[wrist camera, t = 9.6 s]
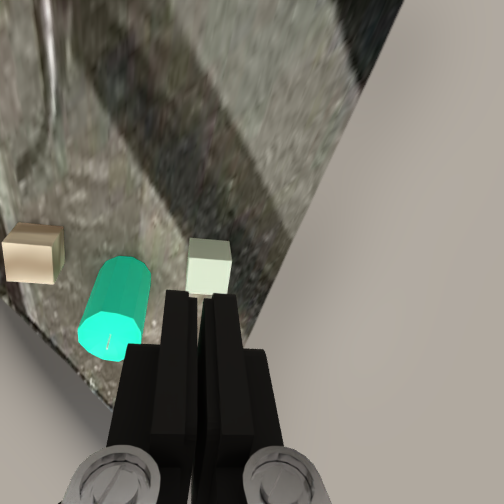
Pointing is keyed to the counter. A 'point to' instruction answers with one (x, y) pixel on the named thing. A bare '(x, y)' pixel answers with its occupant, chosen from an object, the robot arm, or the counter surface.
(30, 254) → the birch block
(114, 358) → the candle
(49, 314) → the counter surface
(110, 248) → the counter surface
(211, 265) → the sage block
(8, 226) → the counter surface
